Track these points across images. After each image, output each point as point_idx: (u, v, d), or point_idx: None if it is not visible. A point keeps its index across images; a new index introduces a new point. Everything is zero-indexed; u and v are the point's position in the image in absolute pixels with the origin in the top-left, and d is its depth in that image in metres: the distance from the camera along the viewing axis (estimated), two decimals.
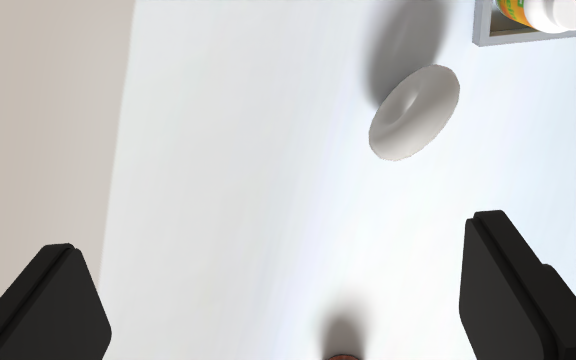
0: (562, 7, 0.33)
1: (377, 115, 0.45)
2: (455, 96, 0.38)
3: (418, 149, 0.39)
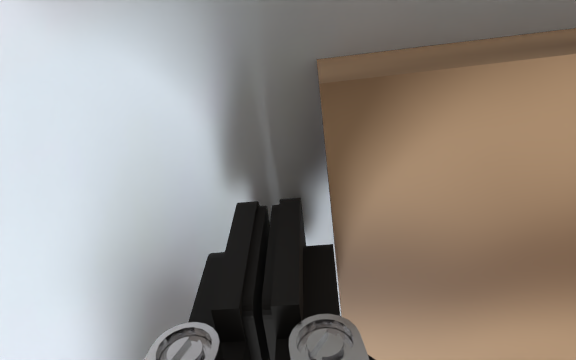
0: None
1: None
2: None
3: None
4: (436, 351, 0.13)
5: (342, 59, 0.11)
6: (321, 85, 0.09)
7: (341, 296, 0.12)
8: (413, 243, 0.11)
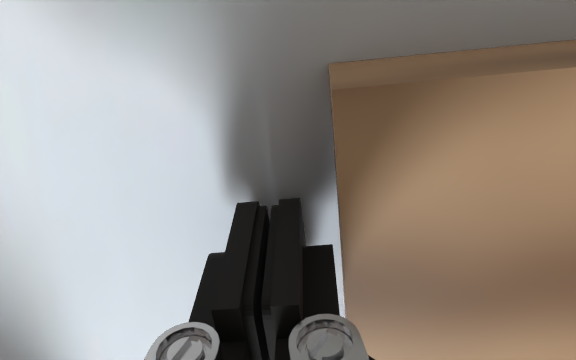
0: None
1: None
2: None
3: None
4: None
5: (354, 64, 0.10)
6: (333, 91, 0.09)
7: (347, 309, 0.11)
8: (423, 256, 0.11)
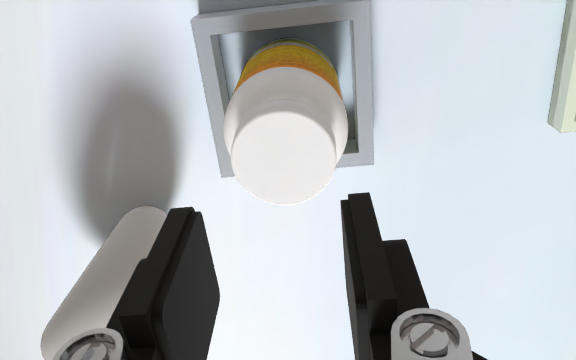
0: (249, 169, 0.17)
1: (82, 274, 0.28)
2: None
3: None
4: None
5: None
6: None
7: None
8: None
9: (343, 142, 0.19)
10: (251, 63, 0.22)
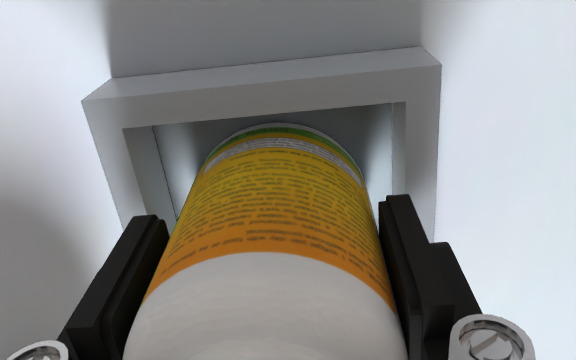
0: None
1: None
2: None
3: None
4: None
5: None
6: None
7: None
8: None
9: None
10: (200, 191, 0.11)
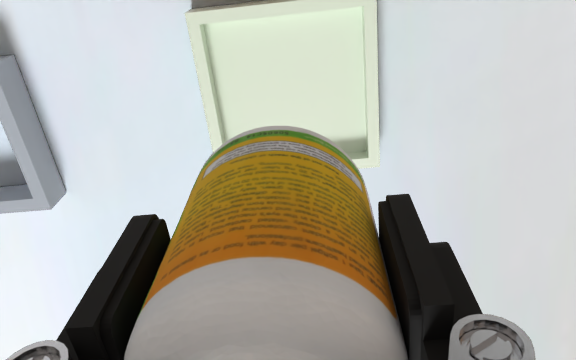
0: None
1: None
2: None
3: None
4: None
5: None
6: None
7: None
8: None
9: None
10: (201, 195, 0.11)
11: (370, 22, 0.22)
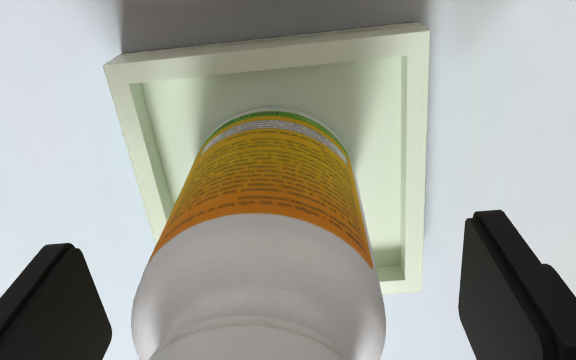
0: None
1: None
2: None
3: None
4: None
5: None
6: None
7: None
8: None
9: (377, 358, 0.09)
10: (198, 169, 0.12)
11: (417, 81, 0.13)
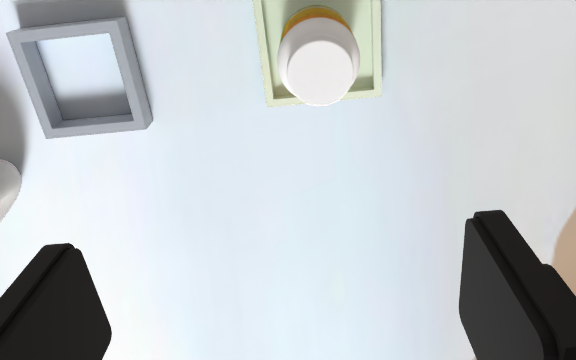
0: (298, 80, 0.27)
1: None
2: None
3: None
4: None
5: None
6: None
7: None
8: None
9: (357, 67, 0.29)
10: (291, 20, 0.32)
11: None
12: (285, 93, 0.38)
